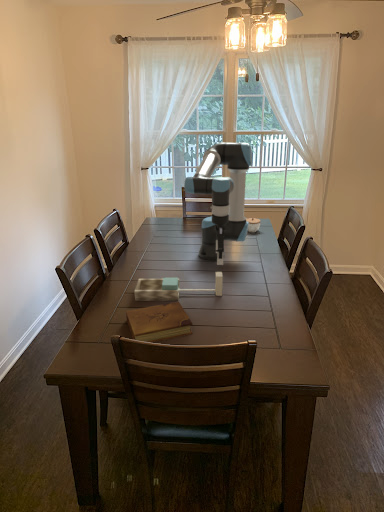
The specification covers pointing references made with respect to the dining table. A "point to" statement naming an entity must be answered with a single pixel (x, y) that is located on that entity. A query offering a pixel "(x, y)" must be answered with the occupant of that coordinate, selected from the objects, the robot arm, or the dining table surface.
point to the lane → (154, 291)
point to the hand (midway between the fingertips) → (219, 258)
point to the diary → (158, 322)
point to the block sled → (173, 285)
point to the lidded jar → (253, 224)
